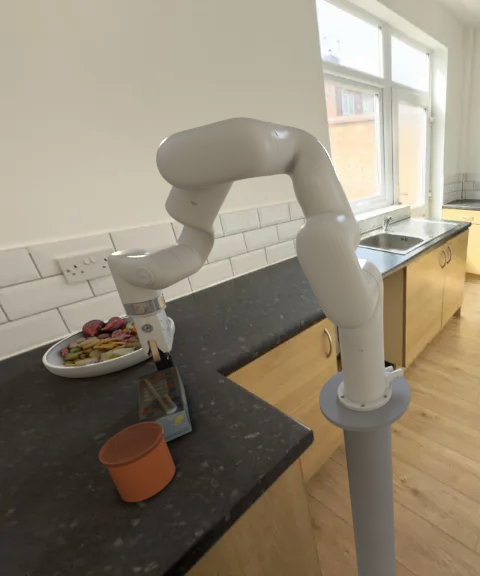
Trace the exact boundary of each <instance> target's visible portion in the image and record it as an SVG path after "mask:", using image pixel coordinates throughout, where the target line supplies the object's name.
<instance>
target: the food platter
mask: <svg viewBox="0 0 480 576" xmlns="http://www.w3.org/2000/svg"><path fill="white" fill-rule="evenodd" d="M167 318H168V321H169V324H170V327H171V329H172V332H173V337H174V336H175V332H176V326H175V322H174V320H173V319H172V318H171V317H170V316H167ZM150 358H153V356H152V354H150V357H147V356H145V354H144V352H143V349H142V346H141V343H140V340H139V337H138V334H137V331H136V327H135V324H134V320H133V318H131V317H128V316H126V317H120V316H112V317H110V318H109V319H108V321H105V322H104V320H101V319H96V318H95V319H91V320H89V321H87V322H86V323H84V324H83V325H82V328H81V330H79V331H77V332H75V333H73V334H70V335H68V336H67V337H64V338H62V339H61V340H58V342H56V343H54V344H53V345H52V346H51V347H49V348H48V349H47V351H46V352H44V354H43V356H42V363H43V365H44V367H45V369H47V371H49V372H50V373H52V374H53V375H55V376H58V377H63V378H70V379H86V378H94V377H100V376H104V375H108V374H112V373H115V372H120V371H123V370H126V369H128V368H131V367H133V366H135V365H138V364H141V363H142V362H144V361H146V360H148V359H150Z"/></svg>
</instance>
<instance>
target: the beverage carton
mask: <svg viewBox="0 0 480 576" xmlns="http://www.w3.org/2000/svg"><path fill="white" fill-rule="evenodd" d="M138 417H139V421H138V422H139V423H142V422H149V421H153V422H158V423H160V424H161V425H162V426H163V429H164V437H165V440H166V443H168V442H170V441H172V440H174V439H177V438H178V437H182V436H183V435H186V434H188V433H190V432H193V426H192V423H191V419H190V413H189V407H188V400H187V396H186V391H185V387H184V383H183V380H182V377H181V374H180V372H179V369H178V367H177V365H175V364H174V366H171V367H169V368H166V369H163V370H159V371H157V370H156V371H154V372H151V373H149V374H145V375H142V376H139V377H138Z"/></svg>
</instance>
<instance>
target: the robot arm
mask: <svg viewBox="0 0 480 576" xmlns="http://www.w3.org/2000/svg"><path fill="white" fill-rule="evenodd" d="M156 150H157V151H156V155H155V163H156V167H157V170H158V173H159V174H160V175H161V178H163V180H165V182H166V183H167V184H169V185H171V188H170V191H169V193H168V196H167V198H166V199H165V203H164V207H165V211H166V213H167V214H168V215H169V216H170V217H171V218H172V219H173V220H174V221H176V222H177V223H179V224H181V225H183V226H182V230H181V233H180V235H179V236H178V238H177V240H176V242H175V243H174V244H172V245H170V246H166V247H164V248H161V249H158V250H155V251H152V252H149V251H148V250H147V249H144V248H128V249H123V250H122V249H121V250H118V251H115V252H113V253H111V254H109V255H108V256H107V261H106V262H107V265H108V268H109V270H110V274H111V276H112V280H113V282H114V284H115V288H116V290H117V293H118V296H119V299H120V302H121V304H122V308H123V310H124V313H125V315H126V317H131V318H133V320H134V324H135V327H136V331H137V334H138V337H139V340H140V343H141V346H142V349H143V352H144V354H145V356H147V357H150V354H152V359H153V362H154V365H155V367H156V371H159V370H163V369H166V368H169V367H171V366H174V365H175V364H174V363H175V362H174V360H173V357H172V354H171V353H170V352H171V351H172V349H173V344H174V336H173V332H172V329H171V327H170V324H169V321H168V318H167V317H168V315H167V313H166V311H165V310H166V308H167V302H166V300H165V296H164V293H163V290H165V289H167V288H169V287H171V286H173V285H175V284H177V283H179V282H180V281H182V280H185V279H187V278H189V277H191V276H192V275H195V274H197V273H198V272H199V271H200V270H201V269H202V268H203V267H204V265H205V263H206V262H207V260H208V258H209V256H210V254H211V252H212V250H213V248H214V245H215V241H216V240H215V239H216V234H215V233H216V231H215V230H216V229H215V227H214V223H215V221H216V218H217V216H218V215H219V213H220V211H221V208H222V206H223V204H224V202H225V200H226V198H227V196H228V194H229V193H230V190H231V188H232V186H233V184H234V182H237V181H242V180H247V179H254V178H260V177H261V178H262V177H270V176H276V175H287V176H288V177H289V178H290V179H291V183H292V188H293V192H294V196H295V198H296V201H297V203H298V205H299V206H300V207H299V208H300V209H301V211H302V214H303V216H304V219H305V221H304V222H303V223H302V224H301V226H300V227H299V229H298V231H297V233H296V236H295V252H296V256H297V260H298V263H299V265H300V267H301V269H302V272H303V274H304V276H305V278H306V280H307V283H308V284H309V286H310V288H311V290H312V292H313V295H314V297H315V299H316V301H317V304H318V305H319V307H320V309H321V311H322V313H323V314H324V316H325V317H326V318H327V319H328V321H330V322H331V323H332V324H334V325H335V326H337V327H338V339H339V351H340V361H341V371H342V372H343V381H342V382H341V384H340V385H339V387H338V391H337V392H338V399H339V401H340V403H341V404H342V405H343V406H345V407H346V408H348V409H350V410H354V411H361V412H362V411H371V410H375V409H378V408H380V407H382V406H383V405H385V404H386V403H387V402H388V401H389V399H390V398H391V395H392V385H391V382H392V381H393V379H397V378H400V377H402V376H403V377H404V376H405V374H404V370H403V369H402V368H398V369H394V367H393V365H390V366H386V365H385V340H384V338H385V337H384V335H385V333H384V279H383V276H382V274H381V271H380V270H379V268H378V266H376V264H374V263H373V262H372V261H370V260H367V259H364V258H358V256H357V254H356V253H357V252H356V251H357V249H358V248H359V245H360V243H361V239H362V235H361V229H360V226H359V223H358V221H357V219H356V216H355V214H354V212H353V210H352V207H351V204H350V201H349V199H348V197H347V194H346V192H345V189H344V187H343V185H342V182H341V180H340V178H339V175H338V173H337V170H336V168H335V165H334V163H333V161H332V159H331V157H330V154H329V153H328V151H327V149H326V147H325V146H324V145H323V144H322V142H321V141H320V140H318V138H317V137H316V136H315V135H313V134H312V133H310V132H309V131H306V130H305V129H301V128H298V127H295V126H290V125H284V124H279V123H274V122H271V121H265V120H261V119H256V118H252V117H244V116H241V117H232V118H231V117H230V118H226V119H222V120H219V121H216V122H212V123H207V124H204V125H200V126H196V127H192V128H188V129H184V130H181V131H178V132H175V133H172V134H170V135H168V136H166V137H165V138H164V139H163V140H162V141H161V143H160V144H159V145H158V148H157V149H156ZM150 358H151V357H150ZM385 367H386V368H385ZM393 370H394V371H393ZM392 371H393V372H392ZM390 372H391V373H390Z"/></svg>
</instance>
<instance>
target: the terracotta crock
mask: <svg viewBox="0 0 480 576" xmlns="http://www.w3.org/2000/svg"><path fill="white" fill-rule="evenodd" d="M98 460H99V461H100V464H101V465H102V466H103V467H105V468H106V470H107V472H108V474H109V476H110V478H111V480H112V482H113V484H114V486H115V488H116V490H117V491H118V494H119V497H120V498H121V500H123V501H124V502H127V503H137V502H138V503H139V502H141V501H145V500H147V499H150V498H151V497H153V496H155V495H157V494H158V493H159V492H160V491H162V490H163V489H164V488H165V487H166V486H167V485H168V484H169V483H170V482H171V481H172V479H173V478H174V476H175V473H176V464H175V461H174V458H173V456H172V453H171V450H170V448H169V445H168V442H166V440H165V437H164V429H163V426H162V425H161V424H160V423H158V422H153V421H149V422H142V423H138V422H137V423H135V424H133V425H130V426H127V427H126V428H124V429H122V430H120V431H119V432H116V433H115V434H114V435H113V436H111V437H110V438H109V439H108V440H107V441H106V442H105V443H104V444H103V445H102V447H101V448H100V450H99V452H98Z"/></svg>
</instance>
